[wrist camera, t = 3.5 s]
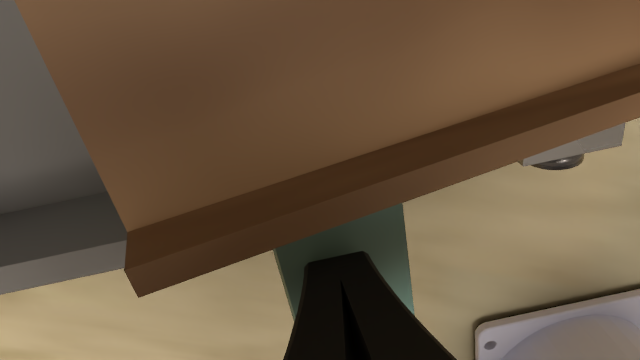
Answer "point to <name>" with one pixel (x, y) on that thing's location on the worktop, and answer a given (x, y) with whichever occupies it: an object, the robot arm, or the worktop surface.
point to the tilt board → (319, 114)
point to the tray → (46, 177)
